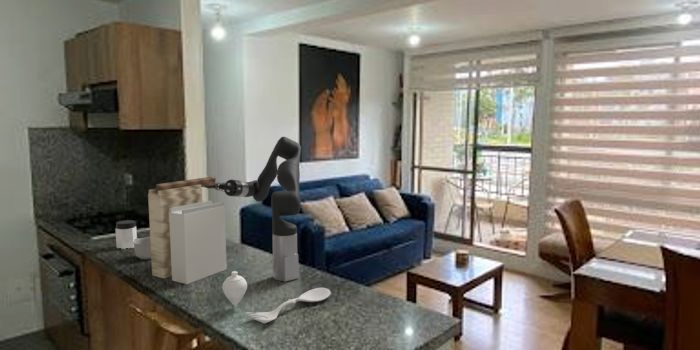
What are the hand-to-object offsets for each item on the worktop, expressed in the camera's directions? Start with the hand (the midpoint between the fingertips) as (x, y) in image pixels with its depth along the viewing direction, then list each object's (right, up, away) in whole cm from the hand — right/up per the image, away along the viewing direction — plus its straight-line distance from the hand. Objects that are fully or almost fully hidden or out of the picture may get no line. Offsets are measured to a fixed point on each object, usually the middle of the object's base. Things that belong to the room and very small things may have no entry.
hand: (212, 185), depth 197 cm
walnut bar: (-8, -1, -10) cm, 13 cm away
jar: (-47, -30, +22) cm, 60 cm away
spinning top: (+22, -38, -49) cm, 66 cm away
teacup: (-31, -32, +6) cm, 45 cm away
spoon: (+40, -39, -50) cm, 75 cm away
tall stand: (-10, -33, -11) cm, 37 cm away
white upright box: (0, -34, -17) cm, 38 cm away
